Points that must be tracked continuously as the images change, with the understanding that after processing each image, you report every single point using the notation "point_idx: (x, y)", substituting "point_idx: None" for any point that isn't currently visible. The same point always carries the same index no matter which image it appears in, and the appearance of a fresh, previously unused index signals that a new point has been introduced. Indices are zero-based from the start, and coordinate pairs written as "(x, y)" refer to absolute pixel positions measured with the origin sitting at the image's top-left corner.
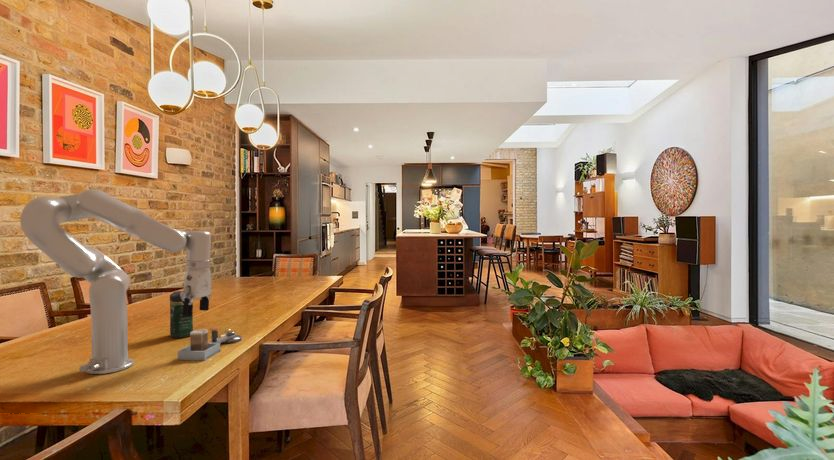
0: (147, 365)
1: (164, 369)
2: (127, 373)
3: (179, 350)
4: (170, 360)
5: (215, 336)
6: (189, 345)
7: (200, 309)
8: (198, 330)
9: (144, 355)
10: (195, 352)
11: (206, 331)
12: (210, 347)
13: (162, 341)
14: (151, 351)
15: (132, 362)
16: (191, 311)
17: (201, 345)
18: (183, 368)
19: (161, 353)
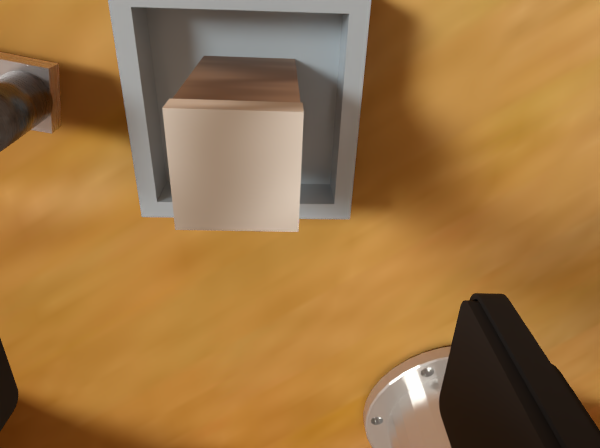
0: (435, 288)
1: (518, 166)
2: (544, 304)
3: (335, 215)
4: (357, 223)
5: (16, 93)
6: None
7: (11, 393)
8: (220, 190)
9: (280, 382)
10: (362, 80)
11: (194, 104)
12: (246, 7)
13: (54, 430)
14: (217, 388)
15: (438, 358)
16: (535, 353)
17: (293, 76)
18: (520, 54)
19: (241, 332)
